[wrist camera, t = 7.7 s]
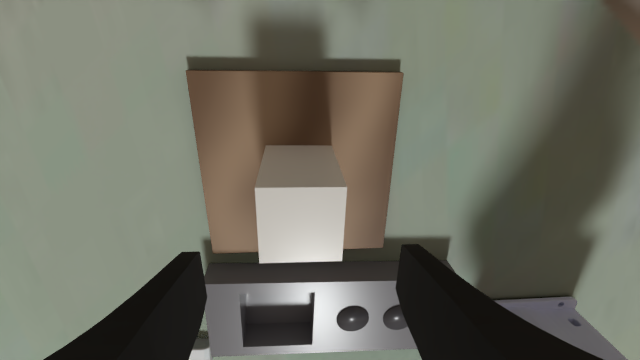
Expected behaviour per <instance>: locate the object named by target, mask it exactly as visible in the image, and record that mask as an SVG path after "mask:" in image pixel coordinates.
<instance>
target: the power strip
mask: <svg viewBox="0 0 640 360" xmlns="http://www.w3.org/2000/svg"><path fill="white" fill-rule="evenodd" d="M439 261H440V262H442V263H443V264H444V265H445V266H447V267H448V268H449V269H451V270H452V271H453V272H454V273H455V271H454V270H453V269H452V267H451V266H450V264H449V263H448V261H447V260H439ZM398 267H399V261H358V262H290V263H212V264H209V266H208V269H207V271H206V274H205V277H204V280H205V286H206V292H207V301H206V305H205V314H206V321H207V328H208V335H209V343H210V350H211V357H217V356H243V355H268V354H294V353H319V352H345V351H370V350H396V349H417V346H416V344H415V342H414V340H413V337H412V335H411V333H410V330H409V328H408V325H407V323H406V321H405V318H404V316H403V313H402V310H401V306H400V303H399V300H398V296H397V292H396V289H395V288H396V281H397V274H398Z"/></svg>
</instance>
